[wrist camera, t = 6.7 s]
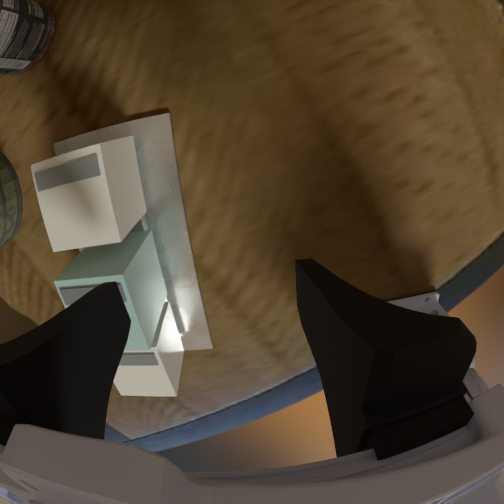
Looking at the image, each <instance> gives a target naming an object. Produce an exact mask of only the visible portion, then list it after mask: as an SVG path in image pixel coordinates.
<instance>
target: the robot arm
mask: <svg viewBox="0 0 504 504" xmlns="http://www.w3.org/2000/svg"><path fill="white" fill-rule="evenodd" d="M295 266H296V289H297V306H298V311H299V315H300V320H301V324H302V327H303V330H304V333H305V335H306V338H307V341H308V343H309V346H310V348H311V351H312V354H313V356H314V359H315V362H316V364H317V367H318V370H319V373H320V377H321V380H322V385H323V389H324V393H325V397H326V402H327V407H328V411H329V416H330V421H331V426H332V432H333V437H334V442H335V449H336V455H337V458H333V459H329V460H324V461H319V462H314V463H308V464H302V465H296V466H288V467H281V468H273V469H263V470H253V471H237V472H182V471H181V470H180V469H179V468H178V467H177V466H175V465H174V464H173V463H171V462H170V461H169V460H167V459H166V458H164V457H163V456H162V455H159V454H156V453H153V452H151V451H148V450H146V449H143V448H141V447H138V446H134V445H129V444H124V443H120V442H116V441H110V440H104V433H105V422H106V414H107V407H108V402H109V396H110V391H111V388H112V384H113V381H114V378H115V375H116V372H117V369H118V366H119V363H120V361H121V358H122V355H123V352H124V349H125V346H126V343H127V340H128V336H129V331H130V326H131V319H130V317H129V314H128V311H127V309H126V306H125V304H124V301H123V298H122V296H121V293H120V290H119V287H118V285H117V282H116V281H114V282H104V283H102V284H100V285H98V286H97V287H95V288H93V289H92V290H90V291H89V292H88V293H86V294H85V295H83V296H82V297H81V298H79V299H78V300H76V301H75V302H74V303H72V304H71V305H70V306H68V307H67V308H65V309H64V310H63V311H61V312H60V313H58V314H57V315H55V316H54V317H53V318H51V319H50V320H48V321H46V322H45V323H43V324H42V325H40V326H38V327H36V328H35V329H33V330H31V331H29V332H27V333H25V334H23V335H21V336H19V337H17V338H15V339H13V340H11V341H8V342H6V343H3V344H1V345H0V497H1V498H3V499H5V500H7V501H9V502H10V503H12V504H504V486H503V484H502V482H501V481H500V477H501V475H502V474H503V471H504V387H503V386H502V385H501V384H498V385H496V386H494V387H493V388H491V389H490V388H489V387H488V385H487V384H486V383H485V381H484V380H483V379H482V377H481V376H480V375H479V373H478V372H477V371H476V370H475V369H474V365H475V360H474V359H475V358H474V355H475V353H476V343H477V342H476V339H475V337H474V335H473V334H472V333H471V332H470V330H469V329H468V328H467V327H466V326H465V325H464V323H463V322H462V321H461V320H460V319H459V318H456V317H450V316H449V315H448V314H447V312H446V311H445V310H444V309H443V308H442V307H441V306H440V304H439V303H438V299H439V294H438V293H437V292H431V293H427V294H422V295H417V296H413V297H408V298H403V299H398V300H393V301H387V302H386V301H383V300H381V299H378V298H376V297H374V296H372V295H369V294H367V293H365V292H363V291H361V290H359V289H357V288H356V287H354V286H352V285H350V284H349V283H347V282H345V281H344V280H342V279H341V278H339V277H337V276H336V275H334V274H333V273H331V272H330V271H329V270H327V269H326V268H324V267H323V266H321V265H320V264H319V263H317V262H316V261H314V260H313V259H311V258H310V259H302V260H295ZM426 298H427V299H426Z"/></svg>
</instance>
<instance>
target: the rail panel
mask: <svg viewBox="0 0 504 504" xmlns="http://www.w3.org/2000/svg"><path fill="white" fill-rule="evenodd" d="M128 136H133V137H134V144H135V150H136V156H137V162H138V168H139V174H140V179H141V185H142V190H143V195H144V200H145V205H146V210H147V212H146V213H145V214H144V215H143V216H142V217H141V219H140V220H139V221H138V222H137V223H136V225H135V226H134V227H133V228H132V229H131V231H130V232H137V231H145V230H152V234H153V238H154V242H155V247H156V251H157V255H158V259H159V263H160V267H161V271H162V275H163V279H164V283H165V286H166V290H167V296H166V299H165V302H168V301H169V303H170V306H171V310H172V313H173V316H174V320H175V323H176V326H177V329H178V333H179V336H180V339H181V342H182V345H183V348H184V350H199V349H213V343H212V339H211V334H210V330H209V326H208V321H207V317H206V313H205V308H204V304H203V299H202V295H201V290H200V285H199V280H198V276H197V271H196V266H195V261H194V256H193V251H192V246H191V240H190V235H189V230H188V224H187V218H186V213H185V207H184V201H183V195H182V189H181V183H180V177H179V170H178V163H177V157H176V150H175V143H174V135H173V128H172V120H171V113H166V114H161V115H156V116H151V117H146V118H142V119H137V120H133V121H129V122H124V123H120V124H116V125H113V126H109V127H105V128H101V129H98V130H94V131H91V132H88V133H84V134H81V135H78V136H75V137H72V138H68V139H65V140H62V141H60V142H57V143H54V150H55V155H56V156H59V155H62V154H65V153H68V152H71V151H75V150H78V149H81V148H85V147H88V146H92V145H96V144H99V143H103V142H107V141H111V140H115V139H120V138H124V137H128ZM130 232H129V233H130ZM84 248H85V247H84ZM84 248H79V251H80V252H81V251H82V250H83V249H84Z"/></svg>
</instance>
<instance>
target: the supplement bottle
mask: <svg viewBox="0 0 504 504" xmlns="http://www.w3.org/2000/svg"><path fill="white" fill-rule="evenodd" d="M54 31H55V17H54V14H53V12H52V11H51V10H50V9H49V8H48V7H46V6H44V5H43V4H40V3H37V2H35V1H33V0H0V74H17V73H23V72H25V71H27V70H28V69H30V68H31V67H32V66H34V65H35V64H36V63H37V62H38V61H39V60H40V59H41V58H42V56H44V54H45V52H46V51H47V49H48V47H49V46H50V43H51V41H52V39H53V36H54Z"/></svg>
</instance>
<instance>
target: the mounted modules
mask: <svg viewBox="0 0 504 504" xmlns="http://www.w3.org/2000/svg"><path fill="white" fill-rule="evenodd" d="M31 170H32V175H33V180H34V184H35V189H36V193H37V197H38V201H39V205H40V209H41V212H42V216H43V220H44V223H45V226H46V230H47V233H48V236H49V239H50V243H51V246H52V249H53V252H57V251H64V250H70V249H77V248H84V247H91V246H98V245H105V244H112V243H119V242H122V241H123V239H124V238H125V237H126V236H127V234H128V233H129V232H130V231H131V229H132V228H133V227H134V226H135V225H136V223H137V222H138V221H139V220H140V219H141V217H142V216H143V215H144V214H145V213H146V212H147V210H146V205H145V200H144V195H143V190H142V185H141V179H140V174H139V168H138V162H137V156H136V150H135V144H134V137H133V136H128V137H124V138H120V139H115V140H111V141H107V142H103V143H99V144H96V145H92V146H88V147H85V148H81V149H78V150H75V151H71V152H68V153H65V154H62V155H59V156H56V157H53V158H50V159H47V160H44V161H41V162H38V163H35V164H32V165H31ZM183 353H184V348H183V345H182V342H181V339H180V336H179V333H178V329H177V326H176V323H175V320H174V316H173V313H172V310H171V306H170V303H169V301H168V302H165V303H164V306H163V309H162V312H161V315H160V318H159V322H158V325H157V328H156V331H155V335H154V338H153V342H152V345H151V348H150V350H129V351H124V352H123V355H122V358H121V361H120V363H119V366H118V369H117V372H116V375H115V378H114V381H113V382H114V384H115V386H116V387H117V389H118V391H119V392H120V394H121V395H129V396H177V391H178V384H179V378H180V371H181V365H182V359H183Z"/></svg>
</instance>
